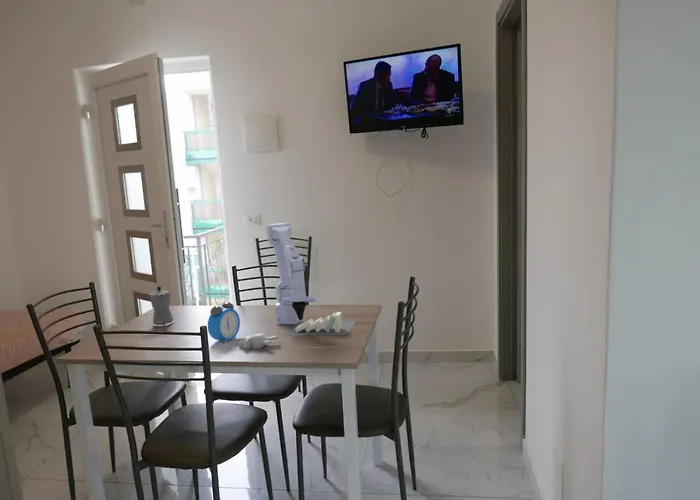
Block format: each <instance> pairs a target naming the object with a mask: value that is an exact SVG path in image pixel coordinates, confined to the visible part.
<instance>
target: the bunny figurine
mask: <svg viewBox="0 0 700 500" xmlns="http://www.w3.org/2000/svg"><path fill="white" fill-rule="evenodd" d="M272 340H279V336H278V335H272V336H269V337H267V336H266V334H265V333H264V332H263V333H261V332H260V333H256V334H254V335H246V336H245V337H244V338H242V339H240V340H239V341H238V342H237V344H238V347H240V348H242V349H254V350H258V349H259V350H261V349H262V348H263V347H265V346H269V345H271V344H272Z"/></svg>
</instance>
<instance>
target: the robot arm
mask: <svg viewBox="0 0 700 500" xmlns="http://www.w3.org/2000/svg"><path fill="white" fill-rule="evenodd" d="M266 234H267V240H268V243H269V245H272V246H273V250H274V254H275V260H276V265H277V270H278V275H279V282H278V283H277V284H276V285H275V289H274V290H275V299H276V301H277V303H276V304H275V310H274V313H275V322H276V323H275V325H296V324H297V323H298V322H301V321H303V319H304V314H305V309H306V306H307V304H308V303H315V304H316V303H317V302H318V299H317V296H307V294H306V293H307V292H306V284H305V273H304V272H305V270H306V261H305V259H304V257H303V256H302V255H300V253H299V251H298V250H297V247H296V246H295V245H293V244H292V240H291V235H292V226H291V223H290V222H289V221H286V222H279V223H273V224H272V223H269V224H267V225H266Z"/></svg>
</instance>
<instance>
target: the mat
mask: <svg viewBox="0 0 700 500" xmlns="http://www.w3.org/2000/svg"><path fill="white" fill-rule="evenodd" d="M341 321H342V329H341V330H340V332H335V321H334V323H333V326H332V328H331V330H330V331H329V332H327V331H325V329H326V327H327V324H328V322H329V321H328V322H327V323H326V324H325V325H324V326H323V328H322V329H321V330H320V331H319V332H317V331H316V330H315V329H316V328H317V327H318V326H319V325H320V324H319V325H318V326H316V327H315V328H313V329H312V330H310V331H309V332H307V331H306V330H305V329H306V328H305V329H303V330H301V331H299V332H296V330H295V329H296V328H297V327H298V326H299V325H301V324H303V323H305V322H306V321H299V322H298V323H297V324H294V325H293V326H292V328H291V329H290V330H288V331H287V333H286V334H284V336H285V337H286V336H348V334H349V333H350V332H351V331H352V329H353V327H354V326H355V324H356V322H357V320H341Z"/></svg>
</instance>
